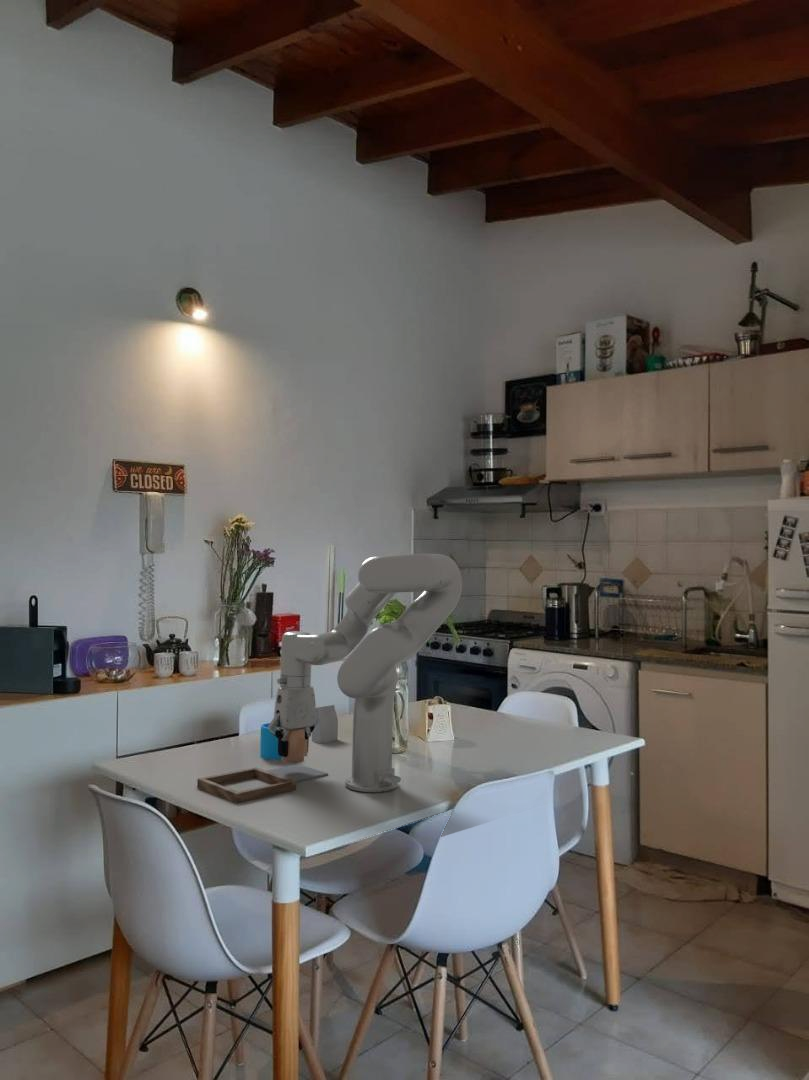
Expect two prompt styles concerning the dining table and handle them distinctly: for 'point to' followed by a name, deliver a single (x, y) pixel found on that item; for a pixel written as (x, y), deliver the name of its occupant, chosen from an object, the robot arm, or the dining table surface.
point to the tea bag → (325, 725)
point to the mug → (268, 743)
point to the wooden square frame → (278, 786)
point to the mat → (298, 772)
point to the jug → (296, 746)
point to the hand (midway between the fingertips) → (293, 753)
